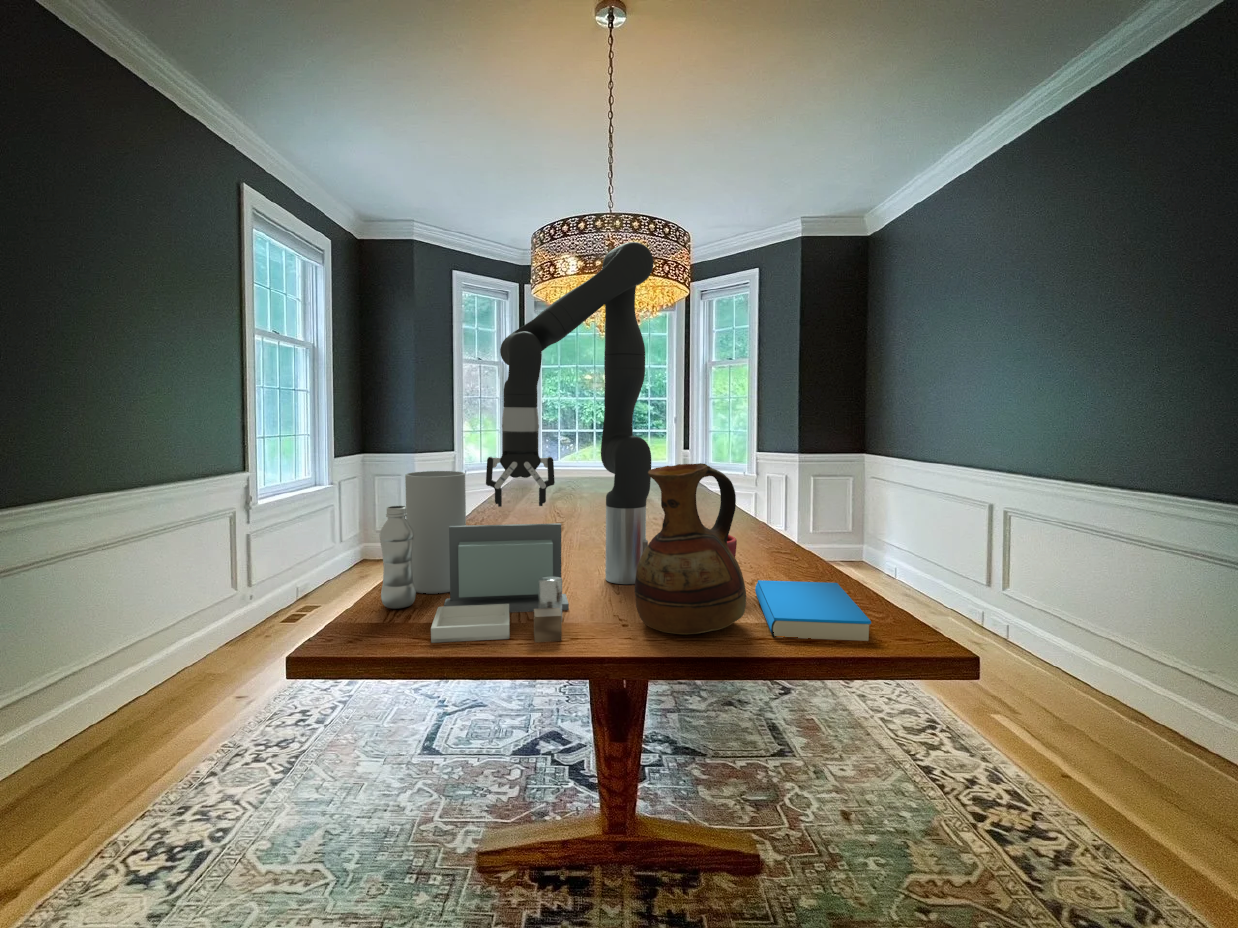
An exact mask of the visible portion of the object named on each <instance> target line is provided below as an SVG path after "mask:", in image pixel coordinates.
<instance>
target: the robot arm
mask: <svg viewBox="0 0 1238 928" xmlns="http://www.w3.org/2000/svg"><path fill="white" fill-rule="evenodd" d="M654 263H655V262H654V257H653V254H652V252H651V250H650V249H649V248H648V247H647V246H646V245H645V244H644V243H641V242H637V241H636V242H635V241H631V242H624V243H623V244H620V245H619V246H616V247H615V248H613V249H611V250H610V251H608V253H607V254H605V257H604V258H603V261H602V266H601V269H600V271H598V272H597V273H596V274H594V275H592V277H590V278H589V279H588V280H586V281H585V282H583V283H581V284H580V285H578V286H576V287H575V288H574V289H571V290H569V292H567V293H565V294H564V295H562V296H561V297H559V298H558V299H557V300H555V301H554V302H553V303H551V304H550V305H549V306H547V307H546V308H545V309H543V310H542V311H541V312H539V314H538V315H536V317H534V318H533V319H531V321H529V322H527V323H525V324H524V325H523V326H521V327H519V328H518V329H516V330H515V331H513V332H512V333H510V334H509V335H508V336H507V337H505V338H504V339H503V341H502V342H501V345H500V348H499V351H500V352H499V353H500V357H501V360H503V362H504V363H505V364H506V365H507V366H508V376H507V379H506V381H505V382H504V384H503V385H504V386H503V409H502V423H501V428H502V429H501V430H502V431H501V432H502V434H501V436H502V437H501V438H502V439H501V440H502V441H501V442H502V447H501V451H502V452H501V453H502V454H501V456H500V457H492V456H488V457H487V459H486V473H485V485H486V486H487V487H491V488H493V490H494V504H496V505H497V506H498V508H501V507H502V503H503V501H502V496H503V495H502V494H503V493H502V492H503V491H502V490H503V489H502V485H504V483H505V482H506V481H507V479H508V478H509V477H510V478H512V479H517V478H518V479H519V478H523V479H528V478H530V477H532V478H533V480H534V481H535V482H536V483H537V484H538V485H539V487H538V506H539V507H543V506H544V505H543V504H546V501H547V488H548V487H551V486H554V485H555V483H556V482H555V468H554V467H555V466H554V463H555V462H554V458H553V457H552V456H547V457H540V455H539V430H540V429H539V428H540V425H539V423H540V422H539V421H540V420H539V412H538V411H539V410H538V385H539V384H538V383H539V379H540V374H541V373H540V372H541V366H542V360H543V351H544V350H546V349H547V348H548V347H550V346H552V345H554V344H556V343H559V342H560V341H561V340H563V339H564V338H565V337H567V336H568V335H569V334H570V333H572V332H573V331H574V330H575V329H577V328H578V327H580V325H581V324H583V323H584V322H585V321H586V320H588V319H589V318H590V317H591V316H593V314H595V313H597V311H598V310H600V309H601V308H602V307H604V311H605V312H604V315H605V319H604V320H605V321H604V360H603V361H604V363H603V364H604V365H603V366H604V367H603V368H604V395H603V396H604V397H603V398H604V415H603V416H604V417H603V425H602V427H603V428H602V435H601V443H600V459H601V463H602V465H603V467H604V469H606V470H607V471H608V472H609V473H611V474H614V479H613V487H612V489H611V490H609V492H607V493H606V496H605V571H604V572H605V573H604V574H605V580H606V581H607V582H609V583H613V584H617V585H635V579H636V571H637V567H638V563H639V561H640V558H641V555H642V554H643V552H644V550H645V549H646V547H647V546H648V544H649V541H648V539H647V500H648V497H649V494H650V490H651V479H652V478H651V477H650V476H649V475H648V471H649V470H650V469H652V453H651V447H650V446H649V444H648V442H647V441H646V440H645V439H644V438H642V437H640V436H636V435H634V430H633V425H634V424H633V423H634V421H633V420H634V411H635V407H636V404H637V401H638V399H639V397H640V394H641V391H642V387H643V385H644V381H645V376H646V346H645V342H644V337H643V335H642V331H641V329H640V328H641V327H639V324H638V320H637V315H636V289H637V286H639V285H641V284H643V283H645V281H647V280H648V279H649V277H650V276H651V274H652V272H653V269H654ZM499 463H500V465H501V466H502V468H503V469H504V471H503V472H502V473H501V475H500V476H499V478H498V479H497V480H496V481H495V480H493V469H495V468H497V465H498V464H499ZM541 464H543V467H544V468H547V480H543V478H542V477H541V476H540V475H539V473H538V472H537V471H536V470H537V469H538V467H539V466H540V465H541ZM502 508H503V507H502Z"/></svg>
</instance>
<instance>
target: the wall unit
mask: <svg viewBox="0 0 1238 928" xmlns="http://www.w3.org/2000/svg"><path fill="white" fill-rule="evenodd" d="M449 553H450V592H449V597H448V598H445V600H444V604H443V606H442V607H444V606H467V605H491V604H509V613H528V612H530V613H531V612H534V609H538V579H539V578H542V577H548V576H555V577H560V578H562V523H561V522H558V523H557V522H556V523H554V522H553V523H521V524H520V523H518V524H517V523H516V524H515V523H514V524H513V523H511V524H481V525H480V524H475V525H473V524H472V525H471V524H469V525H467V524H466V525H463V526H449ZM569 607H570V605H569V601H568V597H567V594H566V593H562V611H569Z"/></svg>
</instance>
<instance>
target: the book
mask: <svg viewBox="0 0 1238 928" xmlns="http://www.w3.org/2000/svg"><path fill="white" fill-rule="evenodd" d="M754 589H755V590H754V591H755V595H756V597H757V600H758V603H759V605H760V608H761V610H762V613H763V616H764V617H765V620H766V623H767V626H768V628H769V631H770V633H771V634H773V637H775V636H785V637H798V638H797V639H808V638H811V639H812V640H838V641H859V642H860V641H861V642H862V641H864V642H869V634H870V625H871V624H872V621H871V619H870V618H868V616H867V615H866V614H865V613H864V611H862V609H861V608H860V607H859V606H858V604H857V603H856V602H855V601H854V600H853V599H852V598H851V597H850V596H849V594H847V592H846V591H845V590H844V589H843V588H842V586H841V585H839V583H838V582H820V581H796V580H795V581H794V580H793V581H788V580H764V579H763V580H762V579H761V580H757V583H756V584H755V588H754ZM773 632H774V633H773Z"/></svg>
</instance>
